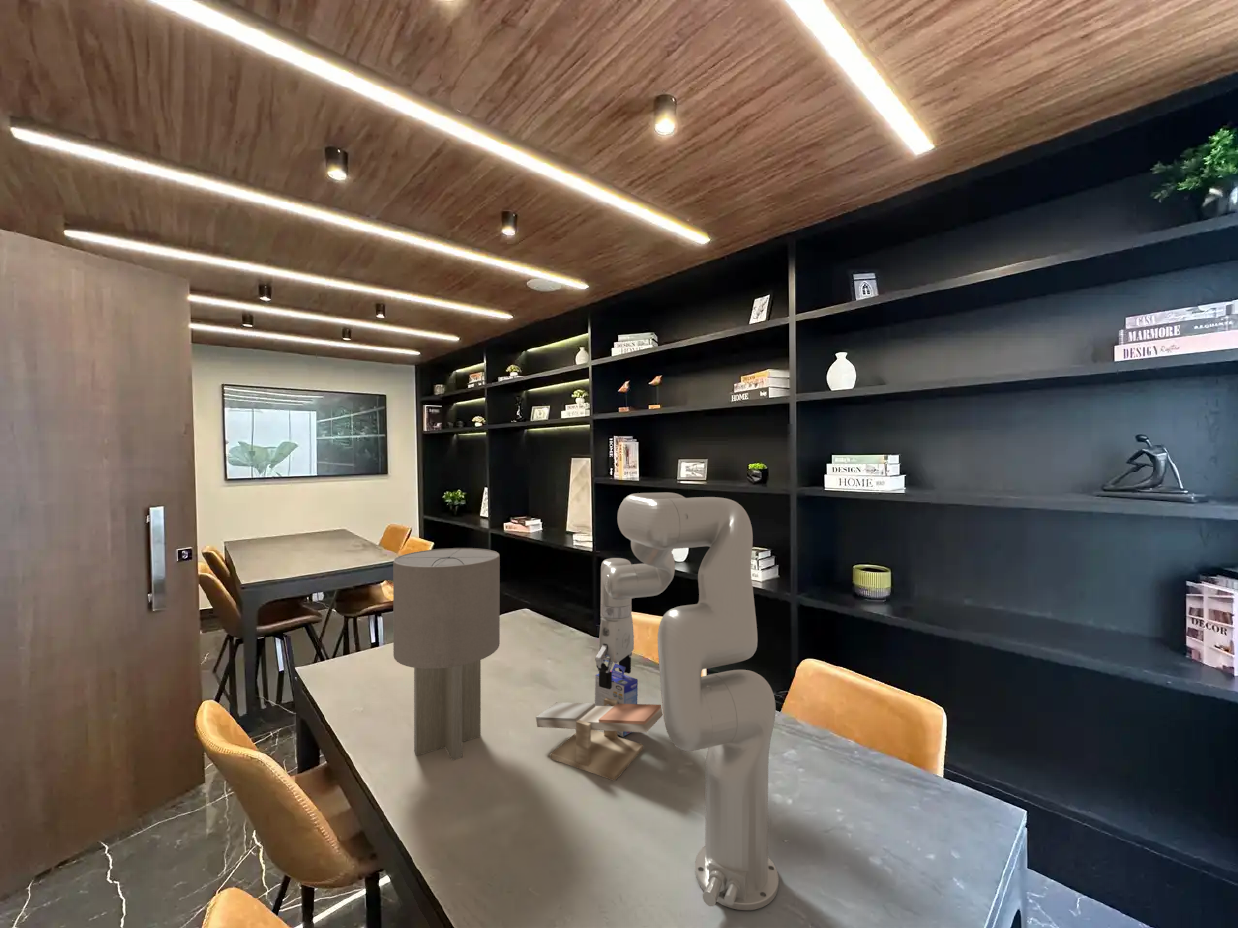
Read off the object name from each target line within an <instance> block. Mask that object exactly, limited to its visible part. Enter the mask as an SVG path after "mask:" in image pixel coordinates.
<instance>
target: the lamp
mask: <svg viewBox="0 0 1238 928" xmlns="http://www.w3.org/2000/svg"><path fill="white" fill-rule="evenodd" d="M500 558H501V557H500V553H499V552H497V551H495V550H491V549H486V548H475V547H474V548H473V547H453V548H435V549H428V550H427V549H425V550H421V551H413V552H409V553H405V554H402V555H399V556H398V557H395V558H394V559H393V562H392V563H393V567H392V569H393V571H392V573H393V578H392V579H393V580H392V581H393V582H392V583H393V585H392V586H393V590H392V591H393V599H392V600H393V607H392V608H393V610H392V611H393V614H392V616H393V617H392V619H393V620H392V621H393V631H392V632H393V638H392V639H393V640H392V641H393V648H392V649H393V654H392V655H393V659H394V660H395V661H396V662H397V663H398V664H400V665H402V666H405V667H409V668H413V705H414V706H413V709H414V710H413V721H414V723H413V726H414V727H413V730H414V731H413V732H414V733H413V734H414V735H413V745H414V746H413V752H414V753H415V755H416V756H417V757H418V756H420V755H423V754H427V753H430V752H434V751H436V750H441V749H443V748H444V749H445V750H446V752H447V754H448V756H449V758H450V759H451V761H454V760H458V759H460V758H463V743H464V742H466V741H470V740H473V739H476V738H480V737H481V736H482V735H481V734H482V733H481V729H482V728H481V727H482V726H481V722H482V721H481V719H482V718H481V715H482V714H481V713H482V712H481V710H482V709H481V704H482V703H481V697H482V695H481V691H482V689H481V685H482V684H481V683H482V682H481V681H482V680H481V679H482V678H481V675H482V674H481V672H482V669H481V668H482V667H481V662H482V660H484V659H486V658H488V657H490V656H491V655H492V654H494V653H495V652H497V650H498V649H499V648H500V644H501V643H500V637H501V635H500V631H501V630H500V629H501V628H500V627H501V626H500V625H501V624H500V620H501V619H500V616H501V615H500V613H501V612H500V611H501V610H500V608H501V607H500V603H501V601H500V598H501V597H500V595H501V593H500V591H501V590H500V589H501V588H500V587H501V586H500V585H501V584H500V583H501V582H500V581H501V580H500V579H501V578H500V577H501V575H500V569H501V566H500V562H501V561H500V560H501V559H500Z"/></svg>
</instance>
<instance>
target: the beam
mask: <svg viewBox="0 0 1238 928" xmlns="http://www.w3.org/2000/svg"><path fill="white" fill-rule="evenodd" d="M662 717H663V709H662V704H654V703H653V704H650V703H648V704H647V703H645V704H643V703H637V704H616V705H615V706H611V705H609V704H607V705H606V706H595V702H559V701H558V702H555V703H553V704H552V705H550V706H549V707H548V708H547V709H545V710H544V711H541V712H540V714H538V715H537V716H535V720H536V727H537V728H547V729H548V728H549V729H566V730H568V729H570V730H576V722H577V721H578V720H581V721H585V722H588V723H591V730H596V731H604V730H605V731H625V732H632V733H648V732H649V730H651V728H652V727H653V726H655V724H656V723H657V722H658V721H659V720H660V719H661V718H662Z"/></svg>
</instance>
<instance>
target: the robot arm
mask: <svg viewBox="0 0 1238 928" xmlns="http://www.w3.org/2000/svg"><path fill="white" fill-rule="evenodd" d="M616 519H617V525H618V528H619V531H620V533H621V534H622V535H623V536H624V537H625V538H626V539H628V540H629V541H630V548H631V551H632V553H633V555H634V556H635V557H636V559H637V560H639V561H640V562H641V563H634V564H633V563H632V562H631V561H630V560H628V559H626V558H621V557H610V558H606V559H604V560H603V561H602V562H601V566H600V626H599V637H598V653H597V654H596V656H595V657H594V661H595V663H596V668H597V671H598V674H599V687H602V688H606V689H611V688H612V672H610V670H612V668H613V665H614V664H618V665H621V666H623V667H626V669H625V672H624V674H631V672H632V655H633V651H634V648H635V641H634V640H635V639H634V638H635V635H634V623H633V621H634V620H633V616H632V599H635V598H647V597H654V596H658V595H660V594H661V593H663V592H664V591H665V590H666V589H668V586H669V585H670V584H671V582H672V581H673V579H674V576H675V571H676V570H675V569H676V562H675V557H674V554H673V550H675V549H676V550H678V549H690V548H701V547H709V548H708V550H707V551H706V553H705V555H704V557H703V559H702V561H701V563H700V566H699V569H698V573H697V583H698V594H699V595H698V602H697V603H695V604H693V603H692V604H686V605H680V606H676V607H674V608H670V609H669V610H667V611H666V612H665V613H664V614H663V616H662V618H661V619H660V622H659V625H658V631H657V656H658V657H657V658H658V664H659V665H658V668H659V670H658V671H659V682H660V693H661V695H660V696H661V709H662V714H663V715H662V717H663V722H664V726H665V730H666V733H667V736H668V737H669V739H670V741H671V743H672V744H673V745H674V746H675V747H677V749H679V750H681V751H685V752H694V751H695V752H696V751H700V750H703V749H704V750H705V749H707V751H706V756H705V757H706V758H705V772H704V773H705V774H704V775H705V782H704V783H705V788H704V789H705V799H704V800H705V804H704V805H705V807H704V808H705V812H704V813H705V816H704V817H705V819H704V820H705V828H704V830H705V831H704V832H705V835H704V837H705V838H704V839H705V840H704V842H705V844H704V846H702V848H701V849H700V850H699V851H698V853H697V855H696V857H695V861H694V863H695V864H694V872H695V877H696V880H697V882H698V884H699V887H701V889H702V890H703V894H702V900H703V902H704V903H705V904H706V905H707V906H708V907H714V906H716V903H718V904H720V905H722V906H724V907H727V908H730V909H735V910H738V911H753V910H754V911H755V910H758V909H761V908H763V907H766V906H767V905H769V904H771V902H773V900H774V899H775V897H776V896H777V894H778V890H779V873H778V870H777V867H776V865H775V864H774V861H772V859H771V858H770V857H769V761H770V760H769V759H770V758H769V757H770V748H771V747H770V746H771V740H772V736H773V731H774V728H775V727H774V726H775V721H776V710H777V708H776V706H777V705H776V700H775V695H774V692H773V689H772V687H771V685H770V684H769V681H767V680H766V679H765V677H763V676H762V675H761V674H758V672H755V671H752V670H748V669H747V670H746V669H733V670H726V671H721V672H718V673H710V674H708V675H703V676H702V673H703V670H705V669H711V668H716V667H722V666H726V665H731V664H737V663H741V662H744V661H746V660H749V659H751V658H752V657H753V656H754V654H755V653H756V651H757V650H758V649H757V648H758V640H759V639H758V628H757V627H758V624H757V616H756V606H755V598H754V597H755V596H754V587H753V581H752V553H753V543H754V541H753V539H754V538H753V537H754V536H753V527H752V524H751V523H752V522H751V520H750V517H749V514H748V513H747V511H746V510H745V509H744V507H743V506H742V505H741V504H739V502H737V501H735V500H732V499H730V498H726V497H725V498H724V497H718V496H717V497H715V496H704V497H703V496H702V497H701V496H699V497H696V496H695V497H685V496H683V495H682V494H679V493H675V492H640V493H639V492H637V493H631V494H629V495H627V496H626V497H624V498H623V500H622V502H621V503H620V505H619V508H618V510H617V518H616ZM605 662H607V665H606V664H605ZM618 672H620V673H622V670H621V669H620V668H618Z"/></svg>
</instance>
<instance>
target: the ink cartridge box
mask: <svg viewBox="0 0 1238 928" xmlns="http://www.w3.org/2000/svg"><path fill="white" fill-rule="evenodd" d="M619 668H620V669H621V670H622V672H620V671H619V670H616V669H619ZM625 669H626V667H623V666H621V665H619V663H614V664H613V666H612V668H611V670H610V672H612V688H611V689H606V688H602V687H599V673H597V674H595V678H594V686H595V687H594V703H595V706H604V699H605V698H610V699H614V700H617V704H638V690H639V689H638V684H639V683H638V682H639V680H638V678H635V677H632V676H629V675H626V674H625V673H624V672H625ZM632 733H633V732H625V731H617V736H620V737H621V738H624V737H625V736H627V735H629V734H632Z"/></svg>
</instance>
